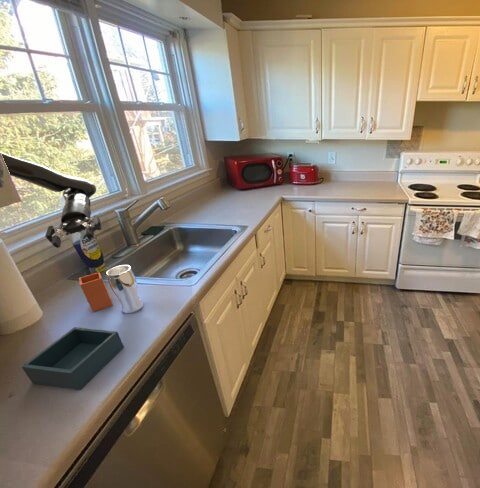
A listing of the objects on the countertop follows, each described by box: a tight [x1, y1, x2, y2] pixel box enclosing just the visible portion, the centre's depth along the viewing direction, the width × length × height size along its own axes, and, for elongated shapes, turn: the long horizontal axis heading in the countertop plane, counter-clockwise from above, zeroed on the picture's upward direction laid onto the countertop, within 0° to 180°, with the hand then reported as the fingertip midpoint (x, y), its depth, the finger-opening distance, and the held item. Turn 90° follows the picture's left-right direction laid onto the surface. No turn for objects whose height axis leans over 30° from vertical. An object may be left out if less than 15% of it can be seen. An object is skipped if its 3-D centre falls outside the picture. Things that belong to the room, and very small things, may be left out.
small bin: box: [78, 271, 114, 313], centre depth 94 cm, size 6×6×11 cm
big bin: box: [21, 326, 125, 391], centre depth 73 cm, size 14×14×6 cm
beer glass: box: [105, 264, 144, 314], centre depth 92 cm, size 7×7×15 cm
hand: (73, 241), depth 89 cm, fingers open, 8 cm apart
